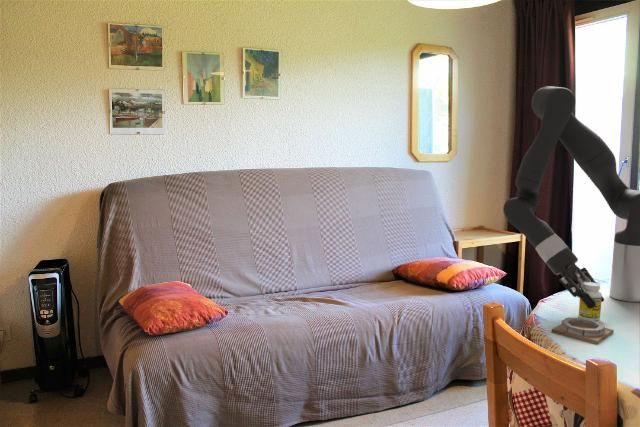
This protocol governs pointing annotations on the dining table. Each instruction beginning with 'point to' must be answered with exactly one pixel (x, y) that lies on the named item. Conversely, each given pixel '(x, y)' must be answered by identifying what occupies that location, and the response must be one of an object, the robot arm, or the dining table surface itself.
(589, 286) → the supplement bottle
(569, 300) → the dining table surface
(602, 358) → the dining table surface
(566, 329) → the collar
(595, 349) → the dining table surface
